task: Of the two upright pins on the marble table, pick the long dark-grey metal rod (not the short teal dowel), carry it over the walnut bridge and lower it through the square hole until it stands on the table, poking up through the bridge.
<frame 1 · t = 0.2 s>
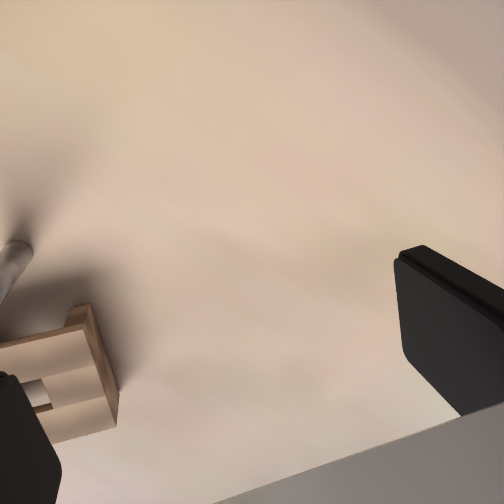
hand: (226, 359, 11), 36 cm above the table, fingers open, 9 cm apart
long pin: (18, 253, 44), on the table
bridge: (40, 366, 49), on the table
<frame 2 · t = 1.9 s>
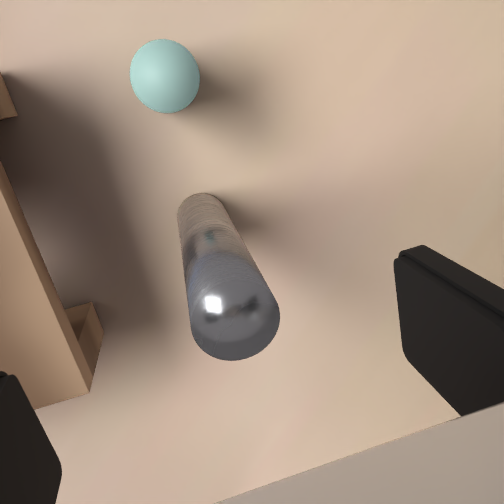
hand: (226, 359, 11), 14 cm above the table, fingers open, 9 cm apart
long pin: (201, 217, 24), on the table
short pin: (164, 81, 21), on the table
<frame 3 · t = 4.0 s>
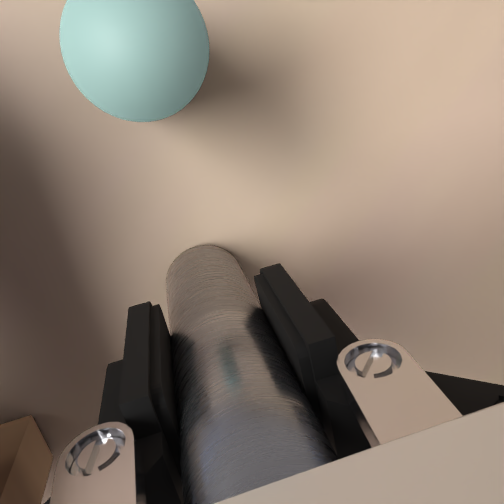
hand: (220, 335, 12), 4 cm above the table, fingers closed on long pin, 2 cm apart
long pin: (204, 281, 15), on the table, touching gripper
short pin: (142, 63, 13), on the table
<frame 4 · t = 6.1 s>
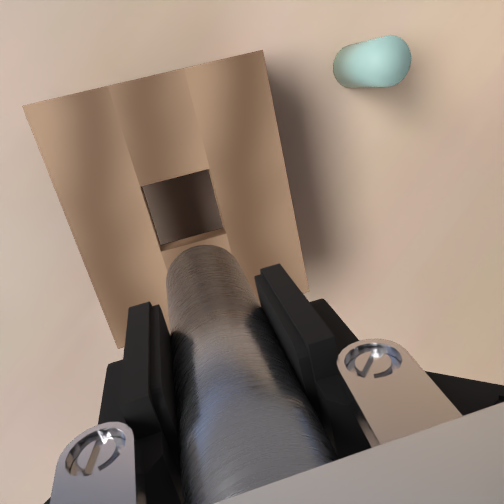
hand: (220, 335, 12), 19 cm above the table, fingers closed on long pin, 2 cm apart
long pin: (204, 280, 15), point 16 cm above the table, touching gripper
short pin: (351, 66, 29), on the table
bridge: (179, 190, 29), on the table
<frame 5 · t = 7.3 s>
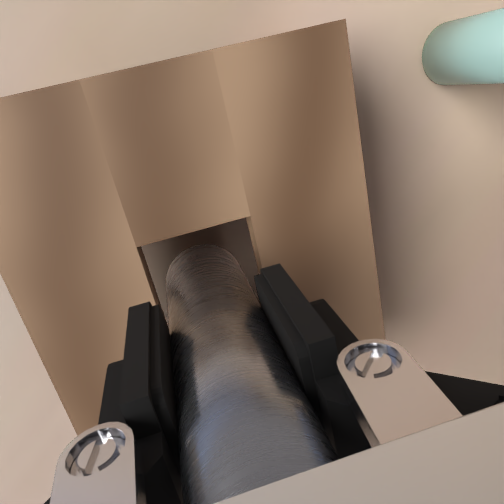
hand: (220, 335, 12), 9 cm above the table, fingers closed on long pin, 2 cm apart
long pin: (204, 280, 15), point 5 cm above the table, touching gripper
short pin: (448, 53, 20), on the table
bridge: (195, 235, 20), on the table
when the fingers open (6 cm above the table, at t = 8.4 s): long pin drops 3 cm, on the table.
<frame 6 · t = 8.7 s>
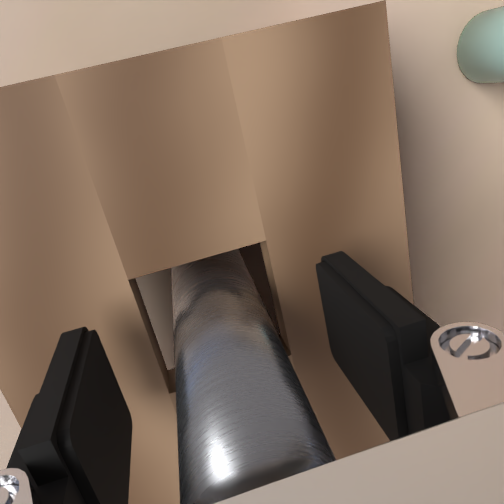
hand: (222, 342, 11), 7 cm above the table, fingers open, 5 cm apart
long pin: (203, 253, 18), on the table
short pin: (487, 47, 17), on the table
bridge: (197, 255, 18), on the table
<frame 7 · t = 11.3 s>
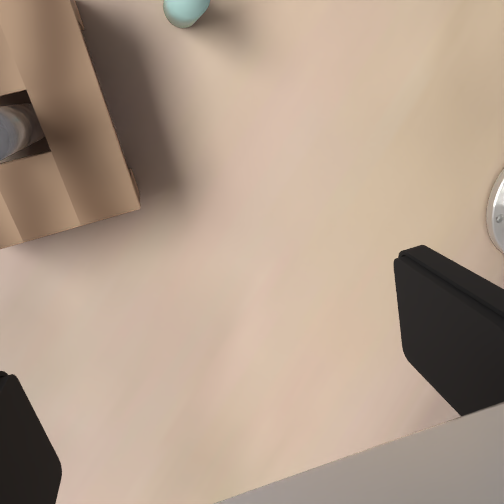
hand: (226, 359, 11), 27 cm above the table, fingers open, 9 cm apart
long pin: (30, 122, 32), on the table
short pin: (181, 7, 32), on the table
bridge: (26, 123, 32), on the table
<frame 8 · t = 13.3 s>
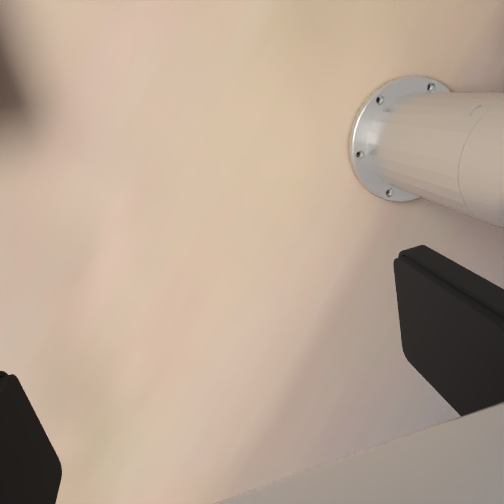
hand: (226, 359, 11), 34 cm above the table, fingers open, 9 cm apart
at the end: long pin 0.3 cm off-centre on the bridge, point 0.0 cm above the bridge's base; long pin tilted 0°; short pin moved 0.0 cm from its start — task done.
